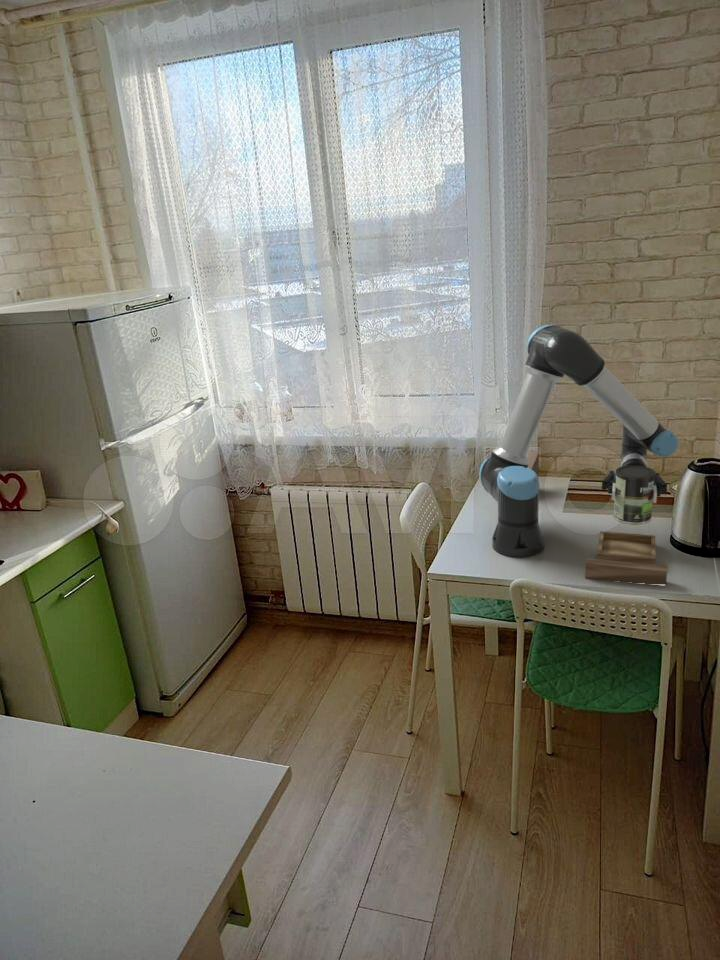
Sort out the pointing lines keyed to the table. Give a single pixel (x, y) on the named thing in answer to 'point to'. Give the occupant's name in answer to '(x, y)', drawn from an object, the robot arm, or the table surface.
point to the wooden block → (533, 461)
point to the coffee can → (634, 494)
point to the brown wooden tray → (627, 547)
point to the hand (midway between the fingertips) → (634, 497)
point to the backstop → (625, 571)
